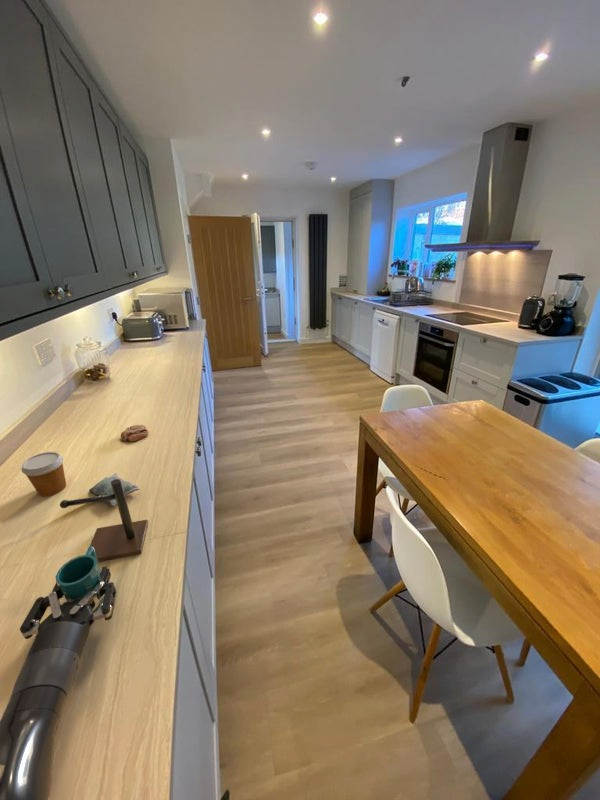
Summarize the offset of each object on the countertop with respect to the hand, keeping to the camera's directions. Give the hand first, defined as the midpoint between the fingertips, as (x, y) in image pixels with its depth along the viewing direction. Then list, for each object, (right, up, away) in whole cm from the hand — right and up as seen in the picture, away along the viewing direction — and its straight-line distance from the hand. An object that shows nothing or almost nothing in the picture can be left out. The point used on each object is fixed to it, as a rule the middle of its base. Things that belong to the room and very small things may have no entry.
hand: (86, 573), depth 65 cm
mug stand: (-3, 0, +14) cm, 14 cm away
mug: (0, -6, +2) cm, 6 cm away
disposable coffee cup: (-30, +7, +31) cm, 43 cm away
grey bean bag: (-11, +7, +30) cm, 33 cm away
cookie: (-21, +21, +62) cm, 68 cm away
